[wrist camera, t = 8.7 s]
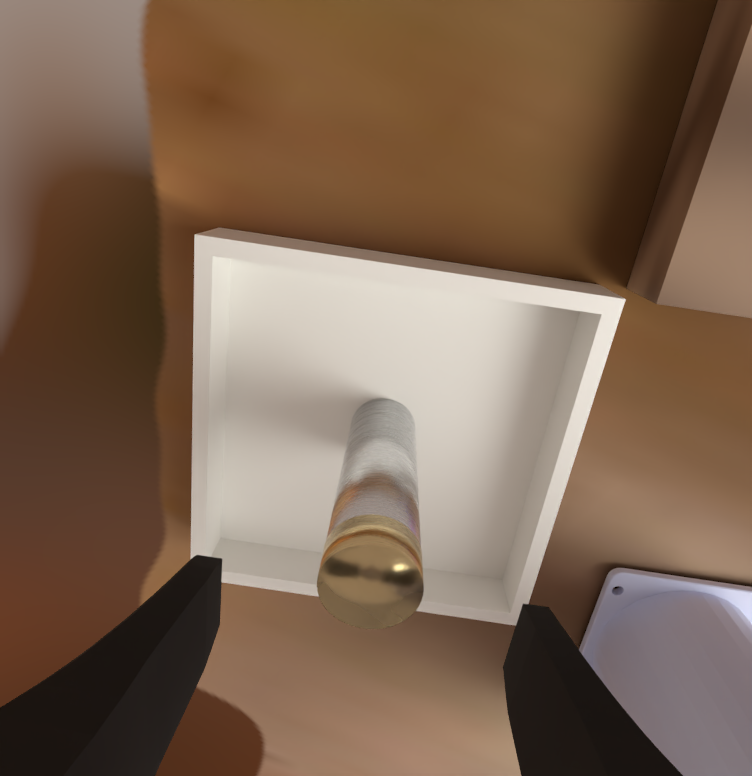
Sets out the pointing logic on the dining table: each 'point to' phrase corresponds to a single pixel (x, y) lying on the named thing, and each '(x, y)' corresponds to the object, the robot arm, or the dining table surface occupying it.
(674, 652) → the robot arm
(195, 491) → the tray
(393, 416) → the steel pin
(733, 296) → the square hole board
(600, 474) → the dining table surface
